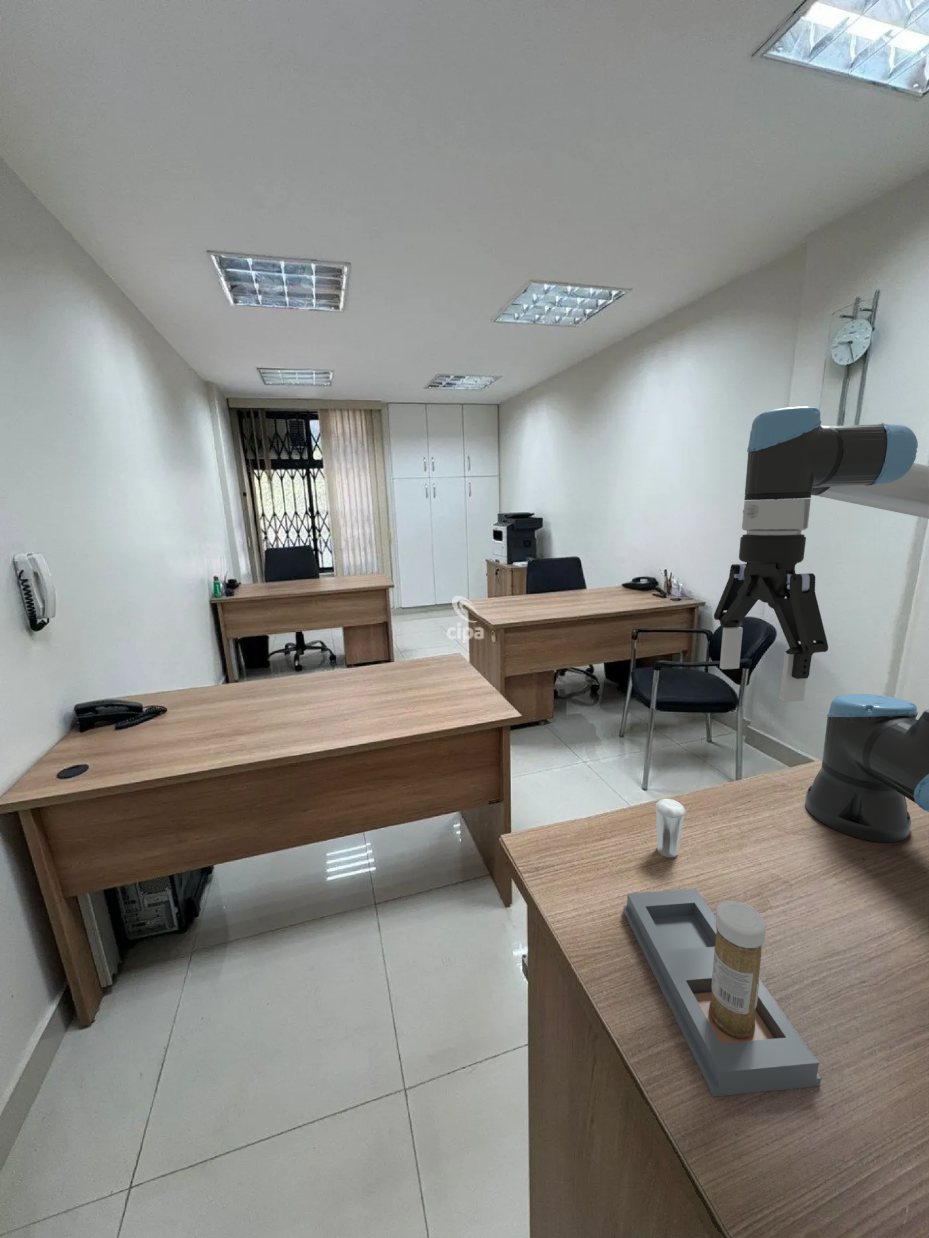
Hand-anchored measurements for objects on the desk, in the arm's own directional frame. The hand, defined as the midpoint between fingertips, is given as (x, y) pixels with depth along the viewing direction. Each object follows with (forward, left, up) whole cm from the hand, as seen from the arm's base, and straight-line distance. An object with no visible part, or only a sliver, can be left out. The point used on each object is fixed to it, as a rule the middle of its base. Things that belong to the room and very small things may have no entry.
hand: (757, 682), depth 71 cm
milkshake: (+8, -6, -32) cm, 33 cm away
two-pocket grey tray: (+15, +17, -32) cm, 39 cm away
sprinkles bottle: (+15, +22, -31) cm, 41 cm away
